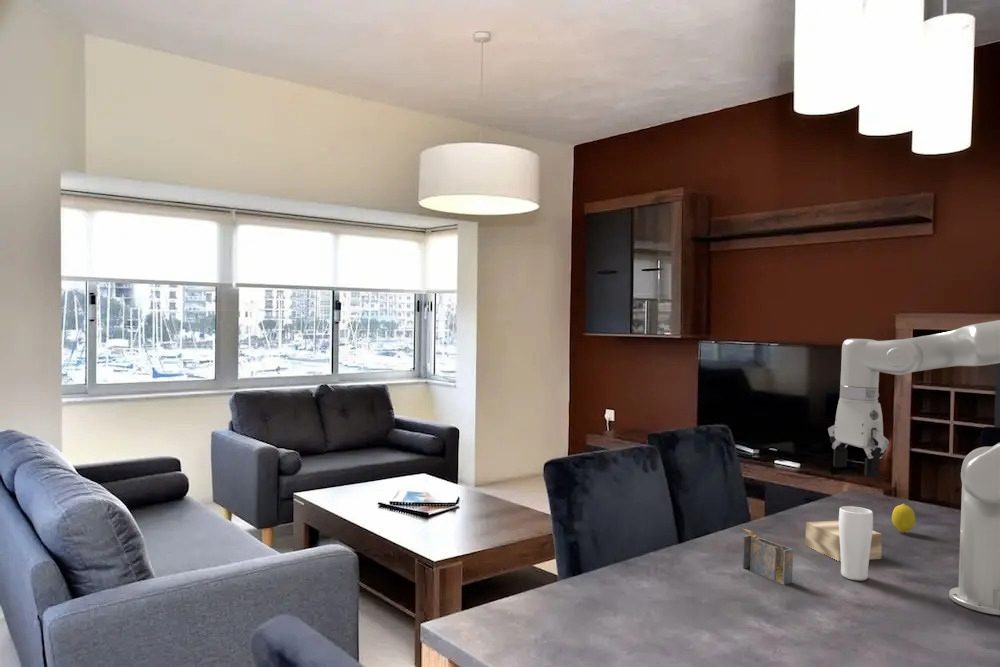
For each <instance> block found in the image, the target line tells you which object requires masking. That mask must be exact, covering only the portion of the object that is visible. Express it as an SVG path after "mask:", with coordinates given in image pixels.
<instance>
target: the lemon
mask: <svg viewBox="0 0 1000 667" xmlns="http://www.w3.org/2000/svg"><path fill="white" fill-rule="evenodd" d="M891 522H892V524H893V526H894V527H895V528H896V529H897V530H899V531H900V532H901V533H902V534H905V533H906V532H907V531H908V532H909V531H911V530H912V529H913V528H914V526H915V525H916V515H915V511H914V510H913V509H912V508H911V507H910V506H908V505H907V504H905V503H902V504H899V505H896V506H895V507H894V509H893V511H892V513H891Z"/></svg>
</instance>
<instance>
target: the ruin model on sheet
mask: <svg viewBox="0 0 1000 667" xmlns="http://www.w3.org/2000/svg"><path fill="white" fill-rule="evenodd" d="M742 530H744V531H743V532H744V533H746V534H748V535H743V536H742V537H743V538H742V540H743V541H742V542H743V543H742V569H748V568H749V571H750V572H752V573H755V574H756V575H759V576H762V577H764V578H767V579H769V580H772V581H774V582H775V583H778V584H780V585H781V584H782V585H789V584H792V583H793V566H794V565H793V562H794V549H793V548H791V547H787V546H785V545H783V544H782V545H781V544H779V543H777V542H773V541H770V540H767V539H764V538H761V537H759V536H758V535H756V534H755V533H754V531H753V530H751V529H747V528H744V527H743V528H742Z"/></svg>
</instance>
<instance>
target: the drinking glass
mask: <svg viewBox="0 0 1000 667" xmlns="http://www.w3.org/2000/svg"><path fill="white" fill-rule="evenodd" d="M838 511H839V513H838V521H839V540H840V556H841V561H840V574H841V576H842V577H843V578H845V579H848V580H851V581H859V582H860V581H866V580H867V579H868V577H869V564H870V563H869V562H870V559H869V557H870V549H871V541H872V533H873V531H874V513H873V511H872V510H871V509H868V508H865V507H859V506H852V505H846V506H845V505H844V506H841V507H839V510H838Z"/></svg>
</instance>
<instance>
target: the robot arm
mask: <svg viewBox="0 0 1000 667" xmlns="http://www.w3.org/2000/svg"><path fill="white" fill-rule="evenodd" d="M995 364H996V365H997V364H1000V319H998V320H991V321H987V322H980V323H974V324H970V325H969V324H968V325H966V326H965V325H964V326H962V327H959V328H957V329H953V330H950V331H949V330H948V331H945V332H941V333H940V332H939V333H933V334H930V335H929V334H928V335H921V336H917V337H910V338H904V339H903V338H902V339H900V338H899V339H890V340H888V339H887V340H875V339H869V338H867V339H866V338H847V339H845V340H844V341H843V343H842V346H841V366H840V369H841V370H840V385H839V389H840V390H839V399H838V402H837V403H838V404H837V408H836V413H835V421H834V424H833V425H831V426H830V427H828V428H827V431H828V435H829V440H830V443H831V444H832V445H831V448H832V449H833V460H832V461H833V463H832V464H833V467H834V468H846V467H848V449H846V448H847V447H848V446H853V447H857V448H861V449H863V450H864V452H865V454H866V456H867V457H865V458H864V472H863V473H864V476H865V477H867V478H878V477H879V476H880V463H881V462H880V461H881V459H882V458H883V455H884V454H885V453H886V451H887V448H888V446H889V445H890V440H889V439H888V438H887V437H885V435H884V422H883V421H884V420H883V412H882V407H881V406H882V405H881V403H880V402H879V397H880V393H879V383H880V373H883V374H890V375H896V376H897V375H898V376H902V375H903V376H904V375H907V374H911V373H914V372H915V373H917V372H922V371H929V370H934V369H935V370H936V369H943V368H950V367H979V366H980V367H981V366H990V365H995ZM960 471H961V472H960V480H961V503H960V504H961V506H960V510H961V511H960V525H959V526H960V527H959V528H960V530H959V531H960V532H959V534H960V535H959V558H958V559H959V565H958V587H957V586H956V587H953V588H951V589H950V590H949V592H948V593H949V599H951V601H952V602H955V603H956V604H957V605H960V606H962V607H965V608H967V609H970V610H973V611H976V612H980V613H984V614H989V615H996V616H1000V442H997V443H996V444H995V445H993V446H982V447H978V448H975V449H973V450H972V451H970V452H969V453H968V454H966V456H965V457H964V459H963V461H962V465H961V469H960Z"/></svg>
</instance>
